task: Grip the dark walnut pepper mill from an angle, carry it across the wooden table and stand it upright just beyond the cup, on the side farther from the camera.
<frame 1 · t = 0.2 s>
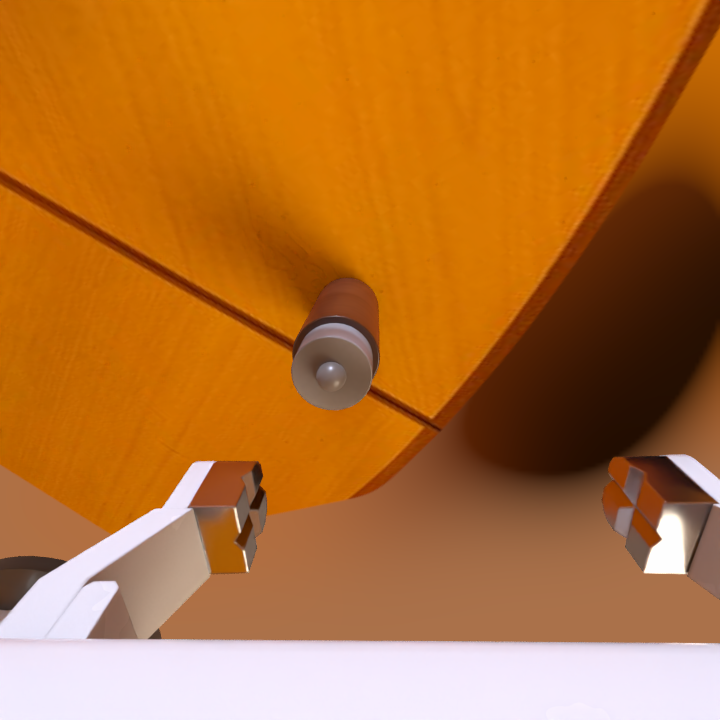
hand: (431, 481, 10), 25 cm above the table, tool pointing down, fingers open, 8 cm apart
pepper mill: (347, 308, 34), on the table
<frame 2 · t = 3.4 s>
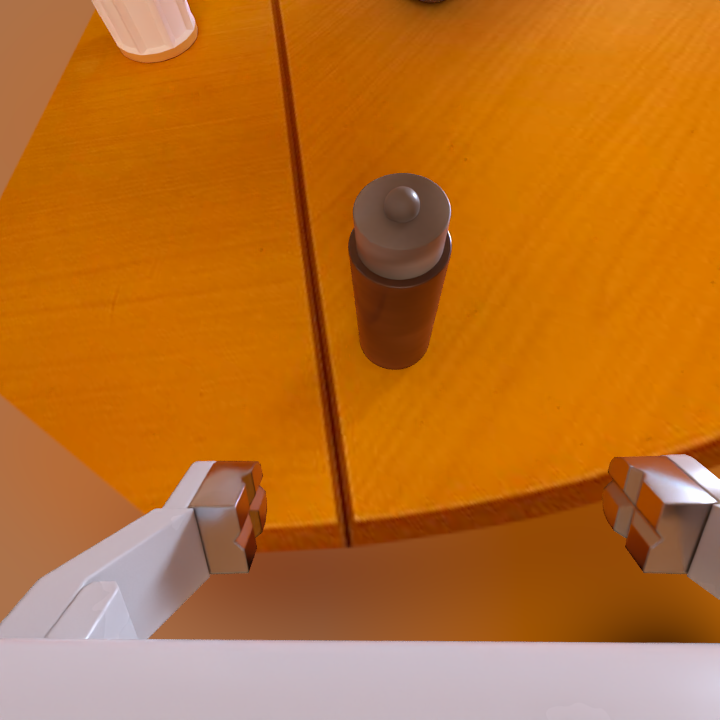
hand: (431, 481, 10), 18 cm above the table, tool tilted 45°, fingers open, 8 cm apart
cup: (160, 39, 47), on the table
pepper mill: (394, 337, 31), on the table
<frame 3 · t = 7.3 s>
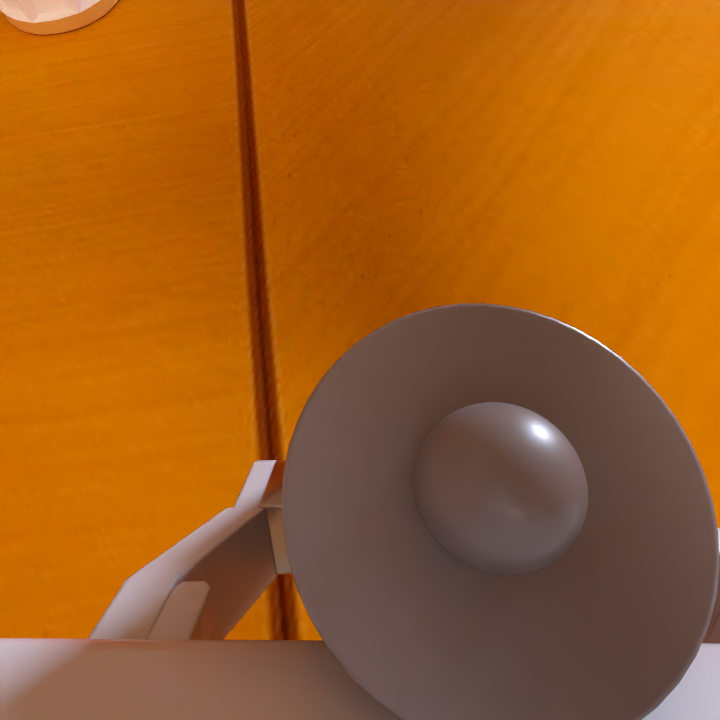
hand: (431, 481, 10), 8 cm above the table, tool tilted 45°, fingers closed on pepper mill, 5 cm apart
cup: (67, 3, 33), on the table
pepper mill: (411, 517, 17), on the table, touching gripper
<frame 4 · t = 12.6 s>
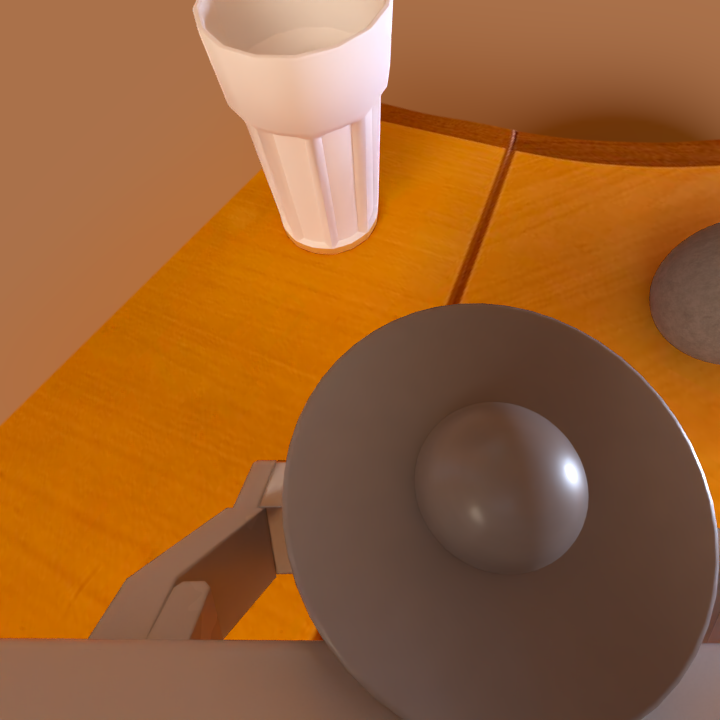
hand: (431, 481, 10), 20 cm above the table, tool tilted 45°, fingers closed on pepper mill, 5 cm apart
decorative ball: (686, 327, 33), on the table
cup: (330, 217, 39), on the table
pepper mill: (410, 517, 17), point 12 cm above the table, touching gripper
when the fingers open (8 cm above the table, at t = 18.2 s): pepper mill stays where it is, on the table.
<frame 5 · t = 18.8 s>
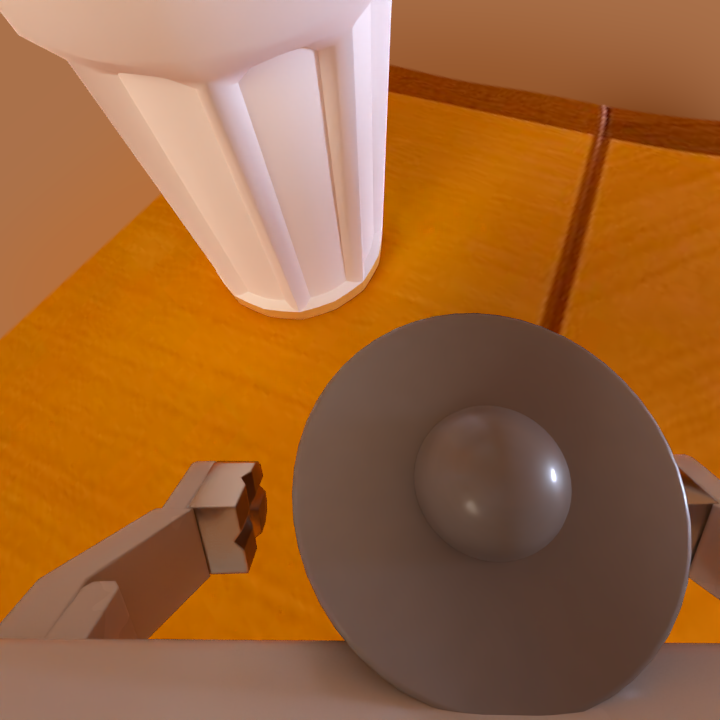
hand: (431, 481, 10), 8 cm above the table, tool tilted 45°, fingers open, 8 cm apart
cup: (300, 249, 23), on the table
pepper mill: (410, 516, 17), on the table
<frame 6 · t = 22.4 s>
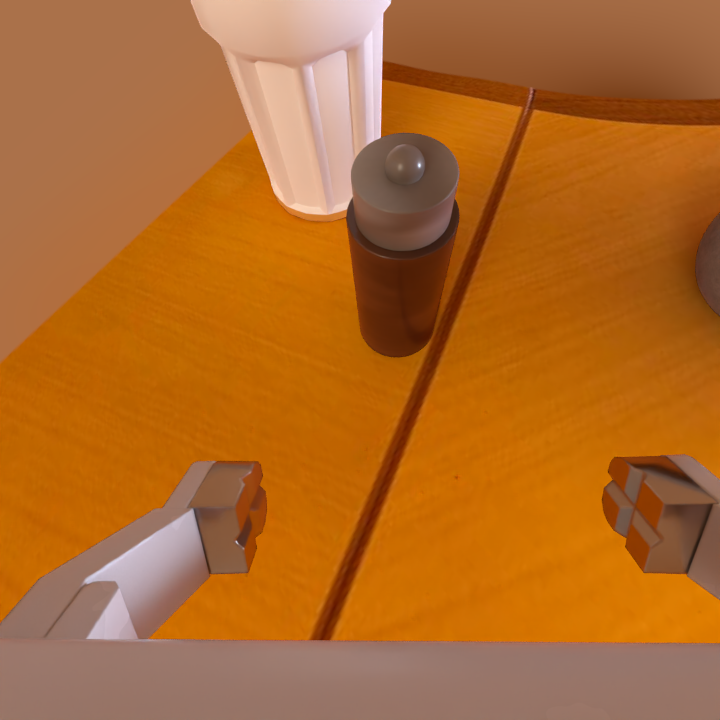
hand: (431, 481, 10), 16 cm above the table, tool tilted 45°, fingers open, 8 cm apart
cup: (326, 181, 35), on the table
pepper mill: (396, 324, 29), on the table
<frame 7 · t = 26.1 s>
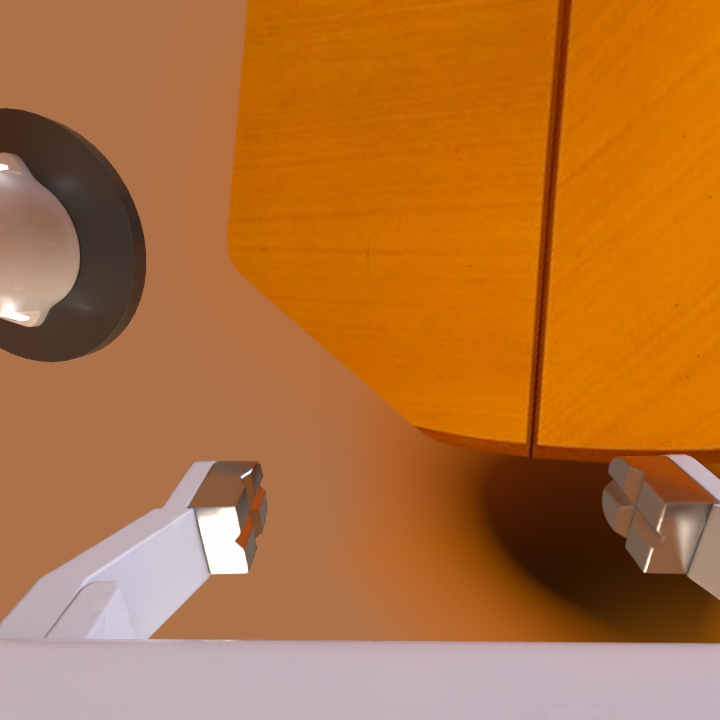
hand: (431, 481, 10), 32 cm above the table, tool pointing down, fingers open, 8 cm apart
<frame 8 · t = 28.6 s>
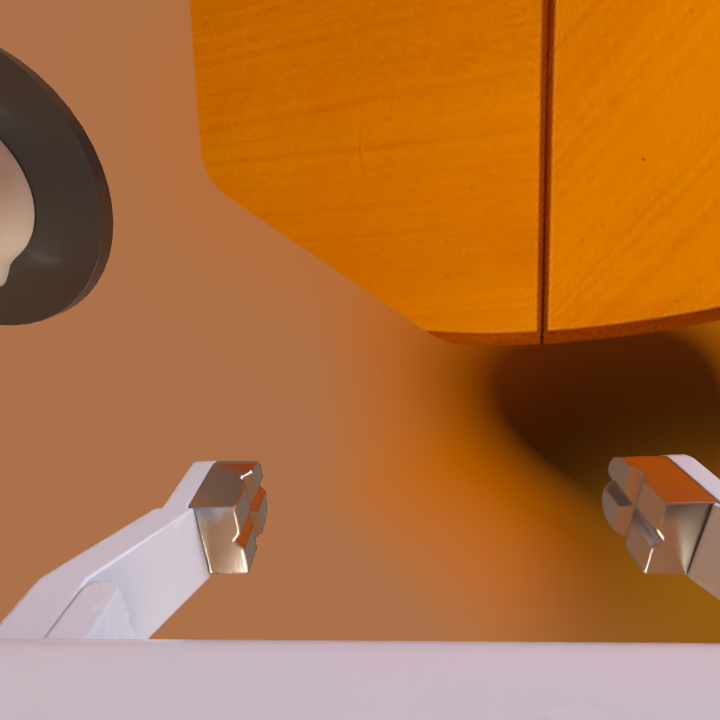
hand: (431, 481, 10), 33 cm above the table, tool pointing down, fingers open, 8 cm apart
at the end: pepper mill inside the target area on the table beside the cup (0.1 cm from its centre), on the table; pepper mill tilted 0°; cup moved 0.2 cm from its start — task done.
